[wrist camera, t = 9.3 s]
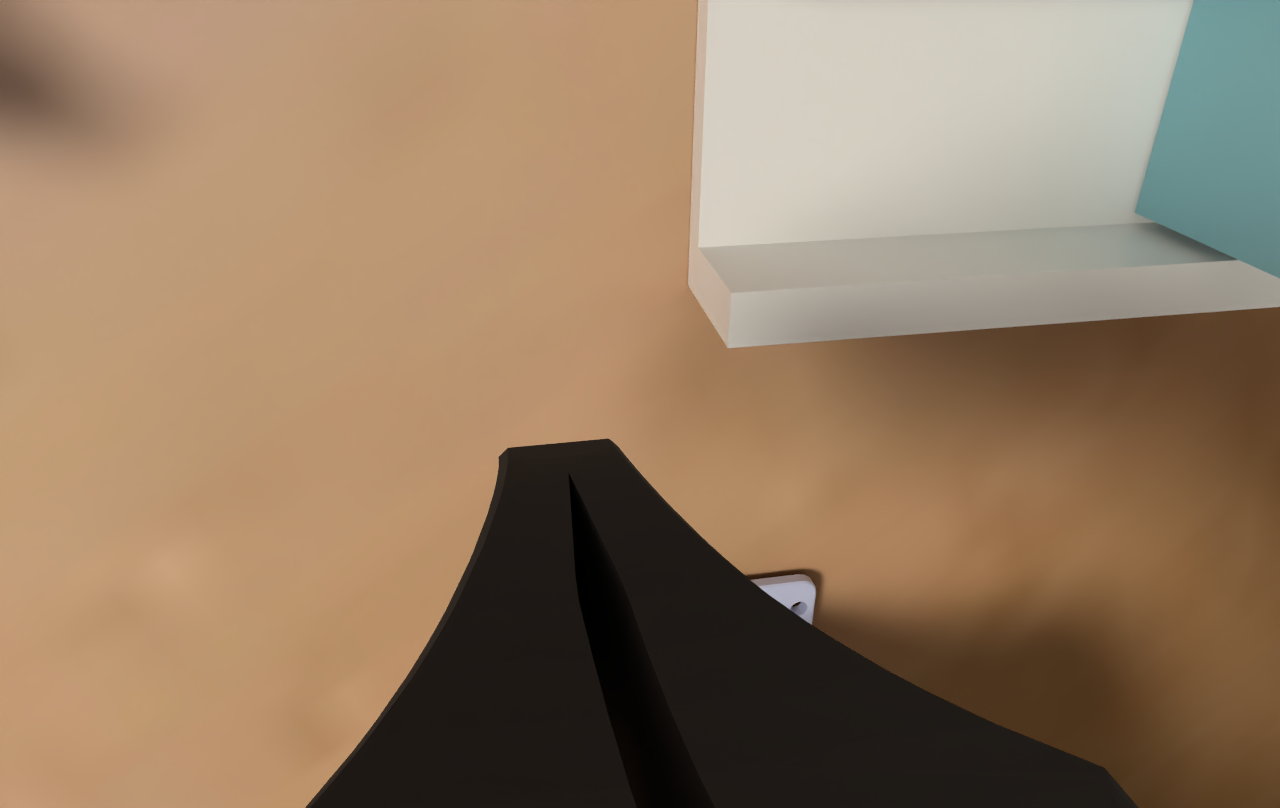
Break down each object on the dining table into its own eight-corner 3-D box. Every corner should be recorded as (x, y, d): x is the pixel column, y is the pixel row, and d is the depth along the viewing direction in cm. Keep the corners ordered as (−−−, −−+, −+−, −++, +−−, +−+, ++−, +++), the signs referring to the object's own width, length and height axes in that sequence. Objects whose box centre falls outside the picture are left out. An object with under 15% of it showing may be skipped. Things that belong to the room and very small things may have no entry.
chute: (687, 285, 21) (727, 348, 18) (702, -105, 17) (755, -105, 14) (1403, 240, 25) (1536, 287, 22) (1548, -95, 21) (1735, -95, 18)
